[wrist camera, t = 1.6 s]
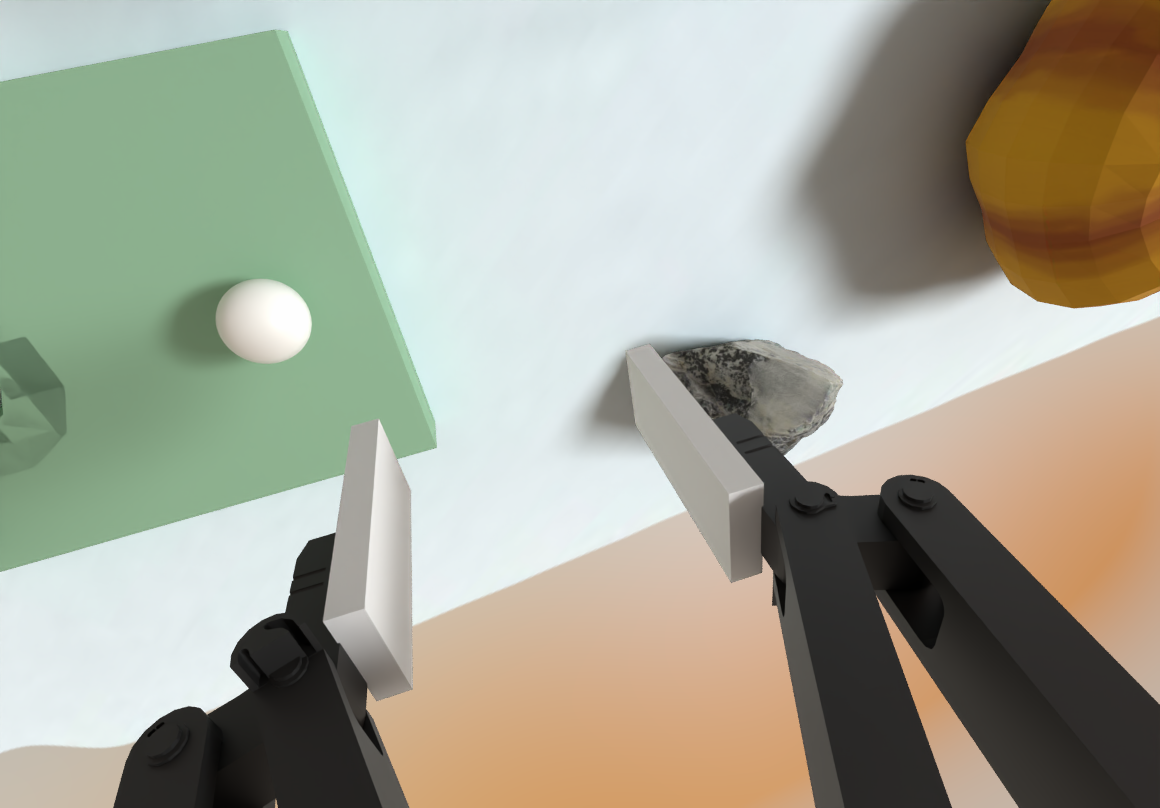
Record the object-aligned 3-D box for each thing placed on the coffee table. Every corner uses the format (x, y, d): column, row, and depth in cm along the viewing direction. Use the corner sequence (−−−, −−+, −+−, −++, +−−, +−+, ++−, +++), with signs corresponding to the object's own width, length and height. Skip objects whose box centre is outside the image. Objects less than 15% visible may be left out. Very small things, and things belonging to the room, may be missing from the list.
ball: (211, 278, 28) (185, 309, 24) (296, 258, 28) (281, 286, 25) (251, 350, 30) (232, 388, 27) (329, 331, 30) (319, 365, 27)
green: (287, 31, 26) (148, 12, 12) (434, 421, 38) (451, 638, 24) (-437, 169, 23) (-1803, 367, 9) (-22, 549, 35) (-311, 886, 21)
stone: (739, 499, 34) (888, 405, 33) (645, 362, 36) (785, 266, 34) (726, 481, 44) (841, 407, 43) (651, 373, 45) (762, 298, 44)
